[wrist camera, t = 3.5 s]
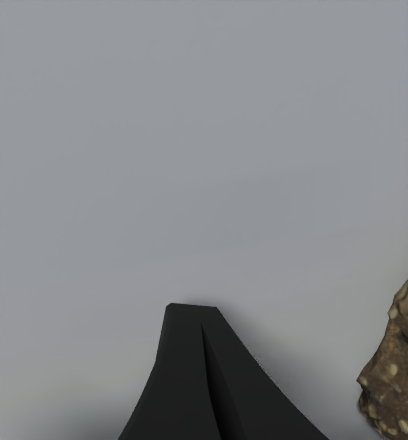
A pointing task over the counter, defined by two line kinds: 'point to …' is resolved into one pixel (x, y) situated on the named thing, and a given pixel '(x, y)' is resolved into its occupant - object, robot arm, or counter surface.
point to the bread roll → (389, 375)
